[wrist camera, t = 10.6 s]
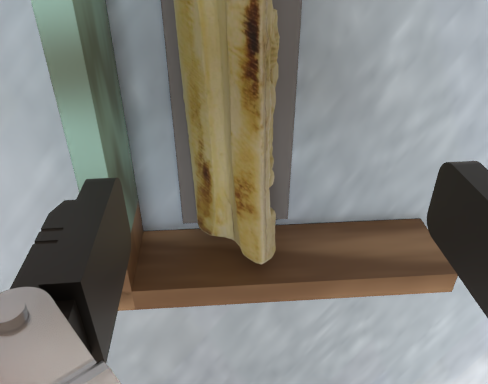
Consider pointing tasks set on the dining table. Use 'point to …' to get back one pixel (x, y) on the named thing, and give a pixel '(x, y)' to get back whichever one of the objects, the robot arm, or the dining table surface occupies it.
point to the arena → (195, 240)
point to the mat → (288, 24)
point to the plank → (231, 116)
